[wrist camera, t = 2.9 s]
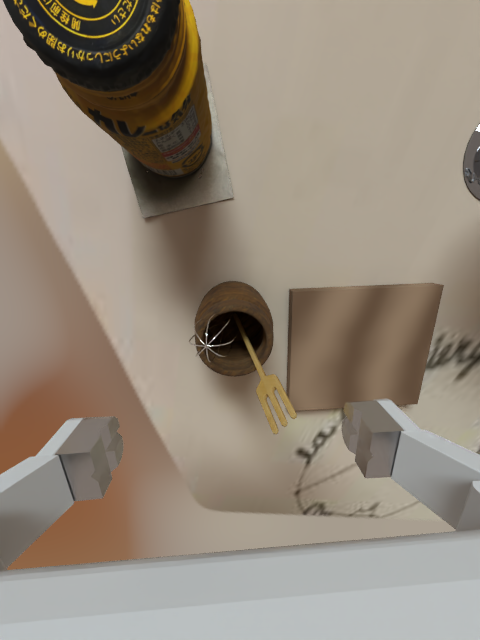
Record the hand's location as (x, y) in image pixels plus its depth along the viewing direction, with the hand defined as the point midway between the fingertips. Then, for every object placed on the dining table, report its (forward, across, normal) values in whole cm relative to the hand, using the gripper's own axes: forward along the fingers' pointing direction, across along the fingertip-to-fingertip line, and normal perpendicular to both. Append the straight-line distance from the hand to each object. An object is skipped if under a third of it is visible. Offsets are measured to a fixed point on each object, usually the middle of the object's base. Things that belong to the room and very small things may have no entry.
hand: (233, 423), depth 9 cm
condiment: (+15, -4, +13) cm, 20 cm away
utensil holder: (+14, 0, 0) cm, 15 cm away
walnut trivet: (+14, +12, -4) cm, 19 cm away
